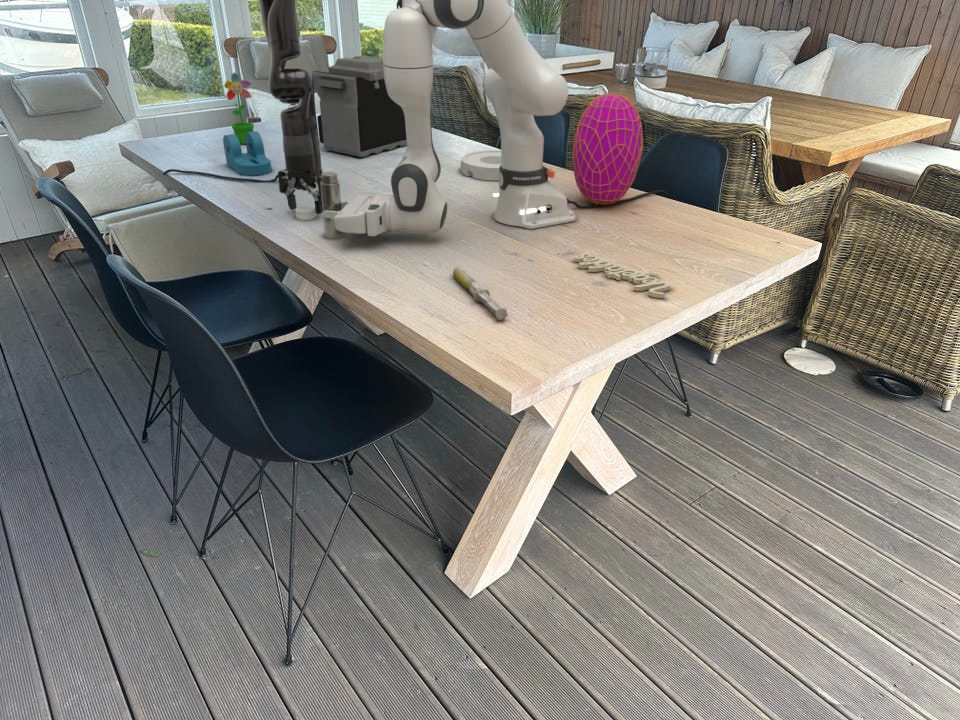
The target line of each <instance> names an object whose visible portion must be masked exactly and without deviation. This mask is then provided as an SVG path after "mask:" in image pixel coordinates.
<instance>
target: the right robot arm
mask: <svg viewBox="0 0 960 720" xmlns="http://www.w3.org/2000/svg"><path fill="white" fill-rule="evenodd" d="M438 28H446V29H450V30H460V29H464V28H465V29H466V31H467V33H468V35H469V37H470V38H471V40H472V42H473V44H474V46H475V47H476V49H477V51H478V53H479V55H480V57H481V59H482V60H483V62H484V64H485V65H486V66H487V67H488V68H489V69H488V70H487V73H486V74H485V76H484V81H483V90H484V93H485V96H486V98H487V99H488V100H489V102H490V103H491V105H492V107H493V110H494V112H495V116H496V119H497V123H498V128H499V132H500V150H501V165H500V166H499V179H498V180H499V181H498V188H499V189H498V193H493V194H492V196H493V197H498V198H497V203H496V208H495V210H494V214H493V219H494V220H495V221H496V222H498V223H500V224H503V225H508V226H513V227H519V228H524V229H529V230H534V229H539V228H544V227H550V226H555V225H561V224H566V223H571V222H575V221H576V214H575V212H574V211H573V210H572V209H571V208H570V207H569V204H570V205H571V204H572V205H574V206H575V207H576V208H578V209H593V208H597V207H602V206H608V205H610V204H596V203H595V204H590V205H580V204H578V203H577V202H576V201H573V200H570V198H568V197H567V196H566V194H565V193H564V191H562V190H561V189H560V188H559V187H558V186H556V185H555V184H554V183H553V182H552V181H550V180H549V178H550V179H553V178H555V176H556V171H555V170H553V169H552V168H548V167H546V166H544V165H543V164H544V146H545V137H544V135H543V132H542V130H541V129H540V128H539V127H538V125H537V123H536V120H535V117H548V116H549V117H550V116H555V115H557V114H559V113H560V112H561V111H562V110H563V109H564V107H565V106H566V103H567V102H568V99H569V98H568V97H569V85H568V82H567V80H566V78H565V77H564V76H562V75H561V74H560V73H559V72H557V71H556V70H555V69H553V68H552V67H551V66H550V65H549V63H547V62H546V61H545V60H544V58H543V57H542V56H541V55H540V54H539V52H538V51H537V49H536V48H535V47H534V46H533V45H532V44H531V43H530V41H529V40H528V38H527V37H526V34H525V33H524V32H523V30H522V29H523V28H521V26H520V24H519V22H518V19H517V17H516V16H515V14H514V11H513V9H512V7H511V5H510V3H509V1H508V0H397V2H396V9H394V10H392V11H391V12H390V13H388V14H387V16H386V18H385V20H384V27H383V37H382V58H383V71H384V80H385V85H386V89H387V93H388V95H389V97H390V98H391V99H392V100H393V101H394V102H395V103H396V104H398V105H400V107H401V108H402V110H403V112H404V116H405V126H406V138H407V145H406V149H405V153H404V154H403V157H402V159H401V161H400V162H399V163H398V165H397V166H395V168H394V169H393V171H392V173H391V178H390V186H391V190H392V191H391V192H392V194H377V193H370V192H357V193H356V194H355V195H354V196H353V197H352V198H351V199H350V200H343V201H341V208H342V210H341V211H337V212H336V211H332V210H331V209H329V210H328V209H326V210H325V211H324V217H325V218H331V219H333V220H335V227H336V229H337V230H338V231H341V232H344V233H349V234H359V235H360V234H367V236H368V237H376V236H378V235H380V234H383V233H387V232H399V231H404V232H407V233H414V234H415V233H416V234H429V233H437V232H439V231H441V230H442V229H443V227H444V224H445V221H446V218H447V214H448V202H447V201H446V200H445V199H444V198H443V197H442V195H441V194H440V192H439V190H438V188H437V186H436V182H437V181H438V180H439V178H440V175H441V172H442V166H441V162H440V159H439V157H438V154H437V151H436V150H435V147H434V143H433V130H432V128H433V127H432V114H431V106H432V105H431V104H432V95H433V87H434V85H433V84H434V53H433V52H434V51H433V43H434V38H435V35H436V33H437V31H438ZM659 193H662V194H663V195H665V196H668V195H669V194H668V193H667V192H666V191H665V190H662V189H657V190H653V191H649V192H645V193H641V194H638V195H636V196H632V197H628V198H624V199H620V200H618V201H617V202H615V203H612V204H611V205H615V204H620V203H622V204H623V203H626V202H630V201H634V200H636V199H639V198H641V197H645V196H650V195H654V194H659Z"/></svg>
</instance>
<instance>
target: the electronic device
mask: <svg viewBox="0 0 960 720" xmlns="http://www.w3.org/2000/svg"><path fill="white" fill-rule="evenodd" d="M310 72H311V74H312V76H313V81H314V92H315V93H316V94H317V96H318V98H319V110H320V111H319V112H320V114H319V115H317V116H316V119H317V127H318V137H319V144H323V146H324V149H325V150H327V151H330V152H335V153H340V154H344V155H348V156H353V157H357V158H362V159H363V158H366V157H367V158H368V157H369V155H371V154H375V155H377V154H381V153H382V152H383V151H391V150H395V149H396V148H397V147H405V146H406V147H407V138H406V126H405V116H404V112H403V110H402V108H401V107H400V105H398V104H396V103H395V102H394V101H393V100H392V99H391V98H390V97H389V95H388V93H387V89H386V85H385V80H384V71H383V57H377V56H367V55H356V56H353V57H350V58H349V57H343V58H342V57H341V58H337V59H336V60H335V63H334V64H333V65H330V66H329V67H328V72H327V71H320V70H314V71H313V70H312V71H310Z"/></svg>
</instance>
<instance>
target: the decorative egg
mask: <svg viewBox="0 0 960 720" xmlns="http://www.w3.org/2000/svg"><path fill="white" fill-rule="evenodd" d="M643 146H644V136H643V124H642V120H641V116H640V113H639V111H638V109H637V107H636V105H635V103H634V102H633V101H632V100H631V99H630V98H629V97H627V96H625V95H622V94H620V93H614V92H613V93H612V92H611V93H610V92H609V93H604V94H601V95H598V96H596V97H594V98H593V99H592V100H590V101H589V103H588V104H587V106H586V107H585V109H584V111H583V112H582V114H581V116H580V118H579V120H578V122H577V127H576V130H575V135H574V140H573V146H572V153H571V158H572V159H571V160H572V169H573V178H574V180H575V182H576V186H577V188H578V190H579V192H580V194H581V195H582V196H583V197H584V198H585V199H586V200H587V201H588V202H590V203H593V204H595V205H596V204H609V205H613V204H612V203H615V202H617V201H619V200H622V199H623V198H624V196H625V195H626V194H627V193H628V191H629V190H630V189H631V186H632V185H633V183H634V181H635V179H636V176H637V172H638V170H639V166H640V162H641V159H642V155H643V148H644V147H643Z"/></svg>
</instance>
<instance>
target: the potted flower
mask: <svg viewBox="0 0 960 720" xmlns="http://www.w3.org/2000/svg"><path fill="white" fill-rule="evenodd" d="M251 84H252V82H251V81H250V80H248V79H242V80H240V76H239V75H238V74H237V72H233V73H232V74H231V77H230V80H226V81H225V82H224V85H223V87H224V88H225V89H227V92H226V98H227V100H229V101H231V100H234V98H235V97H236V98H237V104H238V109H235V110H233V111H232V112H231V113H232V115H235V116H239V118H240V122H236V123H232V124H231V128H232V130H233V134H235V135H236V136H237V138H238V140H239V142H240V145H246V139H245V137H246V133H247V132H254V125H255V124H254V123H253V122H247V121H246V122H244V119H243V112H242V110H244V109H245V108H246V104H241V100H240V96H241V97H242V98H245V99H250V98H252V94H251V92H250V91H249V90H247V89H246V88H249V87H250V86H251Z"/></svg>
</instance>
